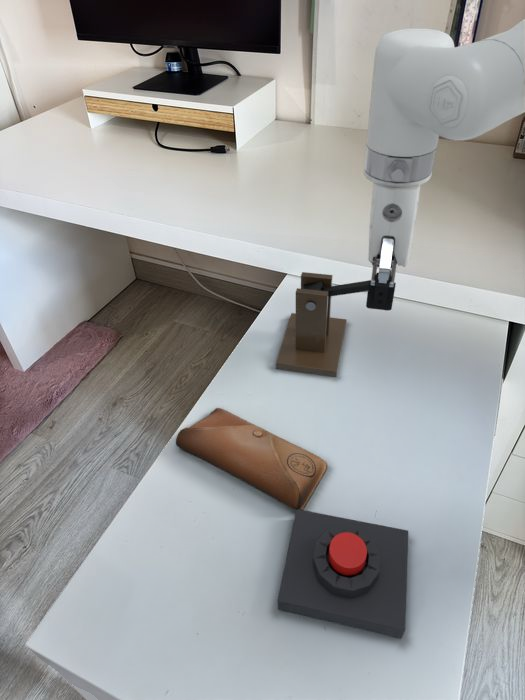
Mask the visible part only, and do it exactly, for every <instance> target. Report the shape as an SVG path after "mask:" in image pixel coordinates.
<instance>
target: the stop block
mask: <svg viewBox="0 0 525 700" xmlns="http://www.w3.org/2000/svg"><path fill="white" fill-rule="evenodd" d="M344 532H349V533H353V534H355V535H357V536H359V537H360V538H361V539H362V540H363V542H364V543H365V545H366V548H367V556H366V561H365V565H364V567H363V569H362V570H361V571H360V572H359V573H358V574H356V575H352V576H346V575H342V574H340V573H338V572H337V571H335V570H334V569H333V567H332V566H331V564H330V562H329V547H330V543H331V541H332V539H333V538H334V537H335V536H336V535H338V534H340V533H344ZM408 556H409V530H407V529H402V528H396V527H392V526H387V525H382V524H376V523H373V522H372V523H371V522H366V521H361V520H356V519H351V518H345V517H340V516H335V515H331V514H325V513H319V512H315V511H309V510H304V509H303V510H300V509H297V510H295V515H294V520H293V525H292V530H291V535H290V539H289V543H288V549H287V554H286V558H285V563H284V568H283V573H282V577H281V582H280V587H279V591H278V596H277V610H279V611H283V612H287V613H292V614H297V615H299V616H305V617H308V618H313V619H317V620H320V621H321V620H322V621H326V622H330V623H334V624H338V625H343V626H345V627H351V628H355V629H359V630H363V631H367V632H368V631H369V632H372V633H376V634H380V635H383V636H384V635H385V636H389V637H392V638H398V639H403V637H404V634H405V631H406V617H407V616H406V613H407V585H408V584H407V583H408V559H409V558H408Z"/></svg>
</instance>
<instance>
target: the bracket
mask: <svg viewBox="0 0 525 700" xmlns="http://www.w3.org/2000/svg"><path fill="white" fill-rule="evenodd" d="M320 281H323V284H324V287H329V286H333V274H325V273H317V272H316V273H314V272H306V271H302V272H301V275H300V287H298V288H296V290H295V312H291V314H290V316H289V319H288V322H287V326H286V329H285V332H284V336H283V339H282V342H281V345H280V348H279V351H278V355H277V357H276V361H275V369H277V370H283V371H290V372H297V373H298V372H299V373H304V374H305V373H306V374H313V375H320V376H327V377H337V376H338V372H339V371H338V370H339V367H340V366H339V365H340V361H341V354H342V349H343V343H344V340H345V339H344V338H345V332H346V328H347V320H348V319H347V318H340V317H339V318H338V317H331V310H332V309H331V307H332V296H331V297H328V294H329V292H328V291H319V290H309V289H303V285H304V284H308V283H314V282H320Z"/></svg>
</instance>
